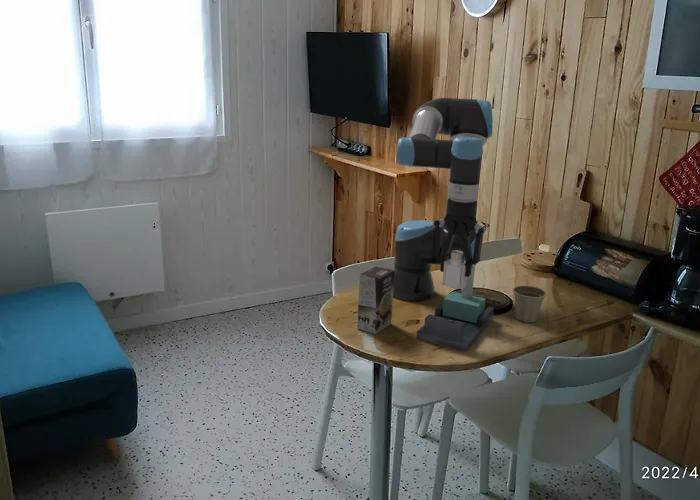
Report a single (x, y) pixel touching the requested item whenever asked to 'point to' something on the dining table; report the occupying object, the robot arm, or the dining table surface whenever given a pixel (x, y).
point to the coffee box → (375, 299)
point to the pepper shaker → (454, 270)
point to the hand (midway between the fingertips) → (454, 285)
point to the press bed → (467, 335)
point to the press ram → (464, 303)
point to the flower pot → (528, 302)
